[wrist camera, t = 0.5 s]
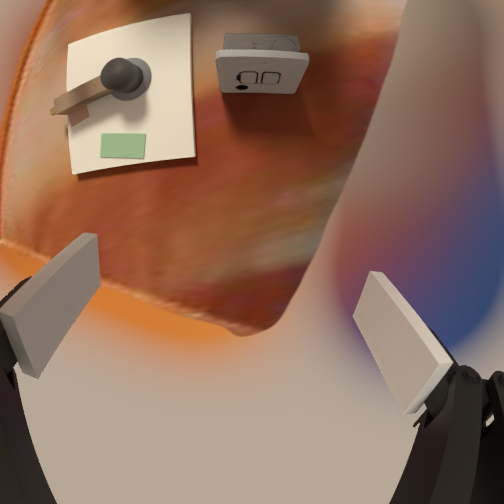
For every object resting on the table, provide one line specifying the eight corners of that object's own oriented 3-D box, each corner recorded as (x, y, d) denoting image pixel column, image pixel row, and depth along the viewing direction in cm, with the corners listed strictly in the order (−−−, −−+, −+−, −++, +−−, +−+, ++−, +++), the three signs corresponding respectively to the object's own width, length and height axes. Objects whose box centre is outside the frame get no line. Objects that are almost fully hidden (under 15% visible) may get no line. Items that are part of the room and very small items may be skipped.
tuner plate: (70, 46, 27) (65, 44, 25) (191, 16, 27) (189, 12, 26) (74, 173, 35) (69, 175, 33) (196, 156, 35) (194, 157, 34)
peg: (140, 60, 28) (128, 52, 24) (146, 87, 30) (134, 81, 26) (56, 100, 29) (38, 99, 25) (60, 124, 30) (43, 126, 26)
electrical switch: (219, 93, 32) (214, 72, 23) (220, 58, 30) (215, 28, 22) (294, 95, 32) (312, 75, 24) (293, 59, 31) (310, 32, 22)
